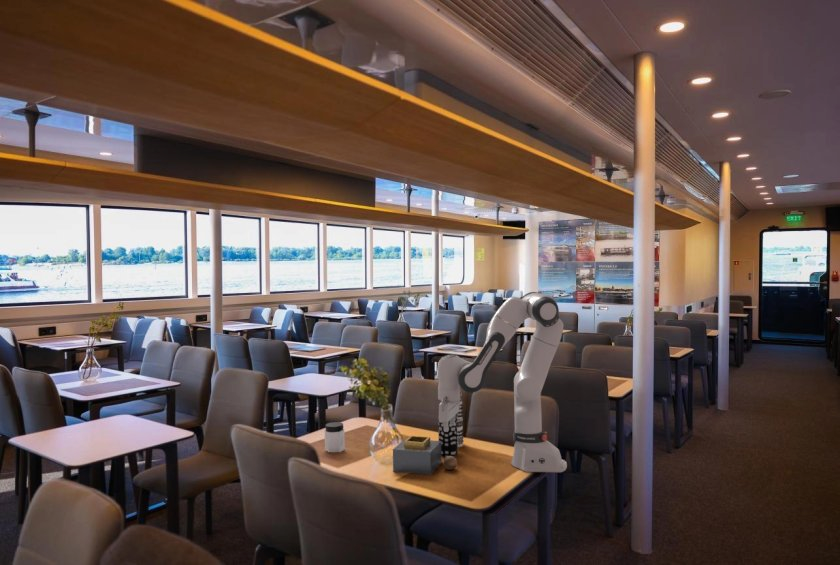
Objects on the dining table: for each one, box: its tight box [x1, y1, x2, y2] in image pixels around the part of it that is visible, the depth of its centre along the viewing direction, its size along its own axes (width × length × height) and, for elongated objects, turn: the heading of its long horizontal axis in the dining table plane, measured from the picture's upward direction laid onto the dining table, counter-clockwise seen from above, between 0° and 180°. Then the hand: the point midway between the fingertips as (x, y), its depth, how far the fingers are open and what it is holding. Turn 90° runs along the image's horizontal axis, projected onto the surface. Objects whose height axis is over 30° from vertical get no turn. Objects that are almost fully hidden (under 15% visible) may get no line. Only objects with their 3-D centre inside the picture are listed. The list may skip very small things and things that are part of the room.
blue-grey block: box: [392, 435, 443, 476], centre depth 241 cm, size 16×16×12 cm
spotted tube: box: [437, 408, 459, 458], centre depth 256 cm, size 8×8×20 cm
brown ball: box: [443, 456, 458, 471], centre depth 237 cm, size 6×6×6 cm
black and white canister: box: [457, 393, 465, 448], centre depth 271 cm, size 9×9×25 cm
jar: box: [324, 421, 346, 453], centre depth 266 cm, size 9×8×12 cm
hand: (449, 428), depth 236 cm, fingers open, 8 cm apart
